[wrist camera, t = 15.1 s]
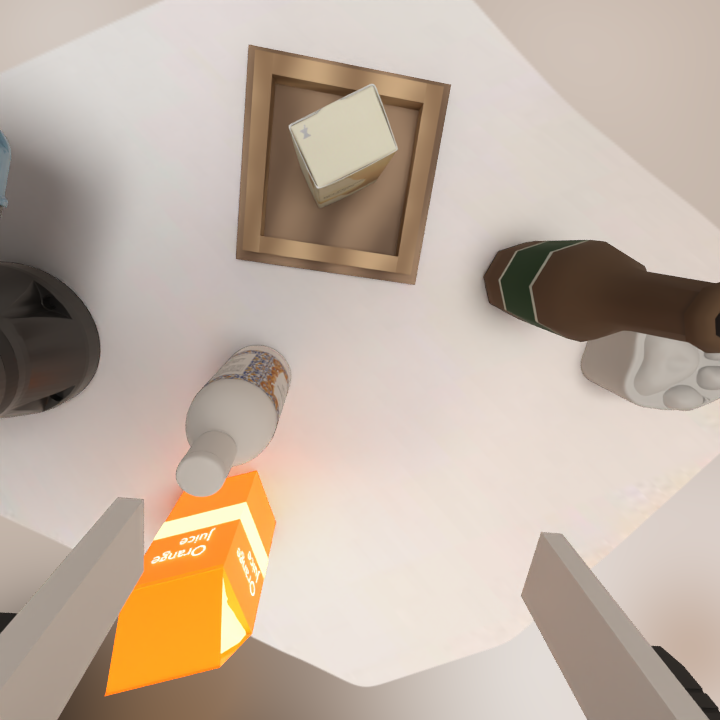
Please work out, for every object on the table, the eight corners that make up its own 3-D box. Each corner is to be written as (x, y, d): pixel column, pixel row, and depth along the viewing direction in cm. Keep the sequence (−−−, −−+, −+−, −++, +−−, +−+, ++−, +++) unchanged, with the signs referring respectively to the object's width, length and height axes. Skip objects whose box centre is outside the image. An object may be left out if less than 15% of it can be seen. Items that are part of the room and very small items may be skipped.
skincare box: (319, 210, 38) (312, 193, 26) (298, 164, 37) (282, 126, 25) (380, 180, 37) (401, 150, 26) (361, 133, 36) (374, 79, 24)
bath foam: (292, 404, 44) (260, 524, 25) (229, 404, 44) (147, 527, 25) (291, 344, 42) (255, 425, 23) (225, 343, 42) (132, 425, 23)
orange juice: (184, 487, 46) (78, 658, 27) (257, 469, 46) (202, 627, 27) (207, 540, 49) (125, 733, 29) (277, 523, 48) (239, 705, 29)
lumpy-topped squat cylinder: (595, 294, 43) (657, 306, 35) (705, 301, 44) (792, 314, 36) (575, 384, 46) (628, 415, 38) (679, 388, 47) (753, 419, 39)
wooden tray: (238, 258, 40) (230, 259, 37) (251, 50, 35) (243, 32, 32) (412, 283, 41) (418, 286, 38) (447, 89, 37) (457, 75, 34)
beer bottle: (559, 244, 41) (845, 243, 18) (544, 318, 43) (781, 400, 20) (488, 238, 41) (689, 227, 18) (475, 312, 43) (640, 391, 20)
